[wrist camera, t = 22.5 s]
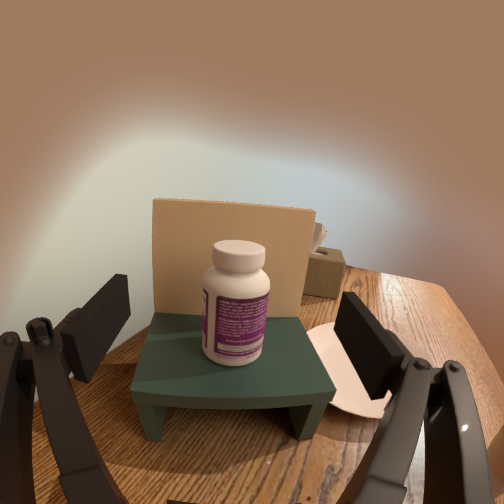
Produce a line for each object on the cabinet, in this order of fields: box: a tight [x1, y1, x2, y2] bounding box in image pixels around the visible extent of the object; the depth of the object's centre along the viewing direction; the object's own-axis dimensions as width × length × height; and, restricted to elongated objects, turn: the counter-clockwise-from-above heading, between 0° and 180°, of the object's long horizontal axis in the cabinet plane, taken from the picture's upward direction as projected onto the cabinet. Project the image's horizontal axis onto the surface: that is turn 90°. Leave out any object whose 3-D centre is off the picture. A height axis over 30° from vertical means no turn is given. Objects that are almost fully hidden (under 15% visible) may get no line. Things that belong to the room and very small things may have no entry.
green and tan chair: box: [129, 198, 337, 442], centre depth 24 cm, size 16×13×20 cm
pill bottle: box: [202, 240, 270, 366], centre depth 22 cm, size 5×5×10 cm
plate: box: [306, 322, 437, 419], centre depth 32 cm, size 21×21×2 cm
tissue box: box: [303, 222, 346, 299], centre depth 58 cm, size 19×10×16 cm, turn 78°
